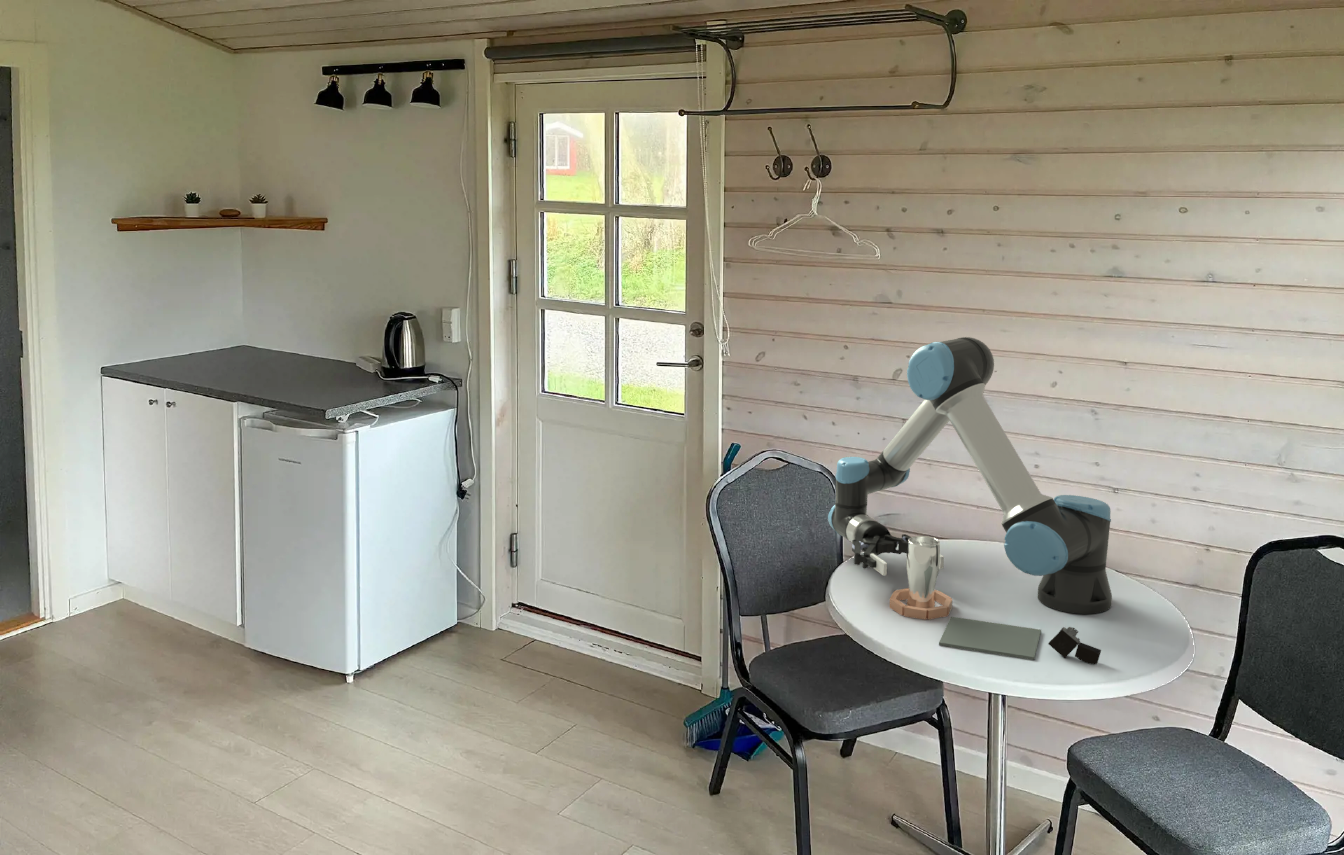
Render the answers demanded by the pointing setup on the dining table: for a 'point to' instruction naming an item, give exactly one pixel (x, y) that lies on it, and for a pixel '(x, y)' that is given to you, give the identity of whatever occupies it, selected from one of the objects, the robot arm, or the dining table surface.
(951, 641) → the mat
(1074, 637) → the lighter
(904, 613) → the coaster ring
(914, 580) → the beer glass
